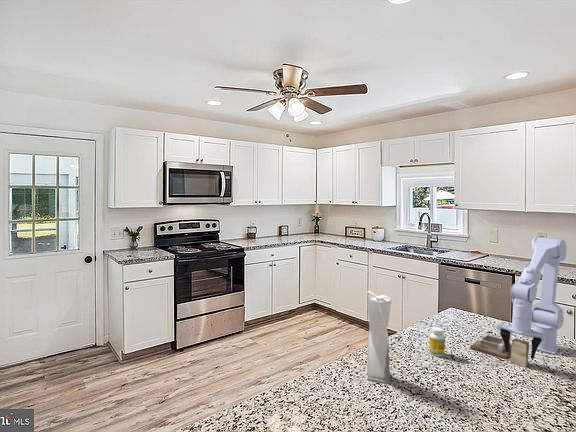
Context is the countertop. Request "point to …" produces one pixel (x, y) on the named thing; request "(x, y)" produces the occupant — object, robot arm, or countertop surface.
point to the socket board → (491, 346)
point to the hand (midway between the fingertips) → (519, 354)
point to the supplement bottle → (437, 342)
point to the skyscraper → (378, 339)
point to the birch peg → (520, 352)
